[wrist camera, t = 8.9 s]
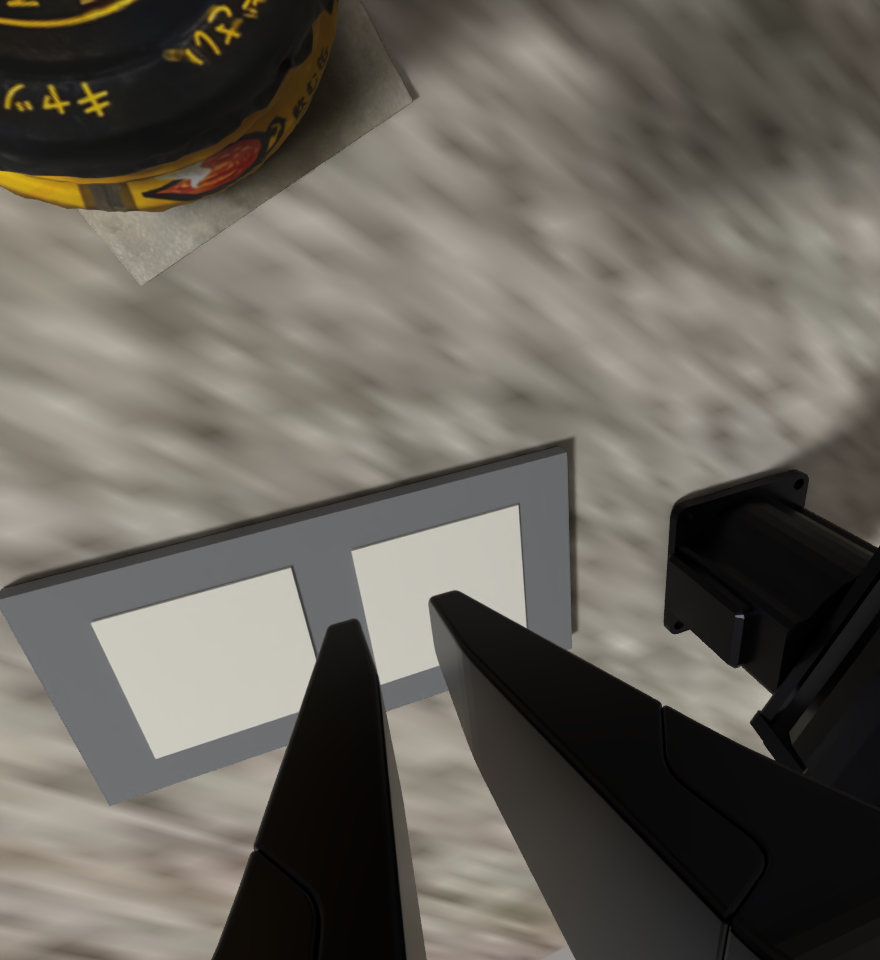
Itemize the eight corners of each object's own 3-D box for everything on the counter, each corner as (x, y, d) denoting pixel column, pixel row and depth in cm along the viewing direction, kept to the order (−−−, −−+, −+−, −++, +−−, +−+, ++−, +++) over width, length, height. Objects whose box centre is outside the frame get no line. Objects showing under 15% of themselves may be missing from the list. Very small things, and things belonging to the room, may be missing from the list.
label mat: (558, 446, 22) (568, 453, 22) (564, 639, 26) (573, 650, 26) (1, 589, 18) (-6, 602, 17) (111, 791, 22) (109, 808, 22)
